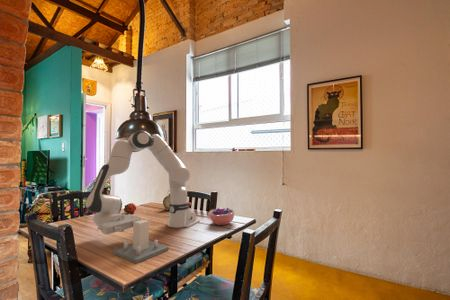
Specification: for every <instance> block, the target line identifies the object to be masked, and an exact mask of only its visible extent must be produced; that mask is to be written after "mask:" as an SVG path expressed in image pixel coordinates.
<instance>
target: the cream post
mask: <svg viewBox="0 0 450 300" xmlns="http://www.w3.org/2000/svg"><path fill="white" fill-rule="evenodd" d="M149 224H150V222H149V220H146V219H141V220H139V221H135V222H133V227H132V231H133V234H132V237H133V238H132V240H133V241H132V244H133V249H134V250H137V246H141V251H143V250H145V249H148V248H149V241H150V240H149V238H150V230H149V229H150V225H149Z"/></svg>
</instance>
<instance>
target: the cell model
mask: <svg viewBox="0 0 450 300" xmlns="http://www.w3.org/2000/svg"><path fill="white" fill-rule="evenodd" d="M208 217H209V218H208V219H210V220H211V222H212V223H213V224H215V225H217V226H225V225H228V224H230V223H231V222H232V221H233V220H234V218H235V210H233V209H231V208H229V207H226V208H222V207H217V208H214V209H213V208H212V209H210V210H209V212H208Z"/></svg>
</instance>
